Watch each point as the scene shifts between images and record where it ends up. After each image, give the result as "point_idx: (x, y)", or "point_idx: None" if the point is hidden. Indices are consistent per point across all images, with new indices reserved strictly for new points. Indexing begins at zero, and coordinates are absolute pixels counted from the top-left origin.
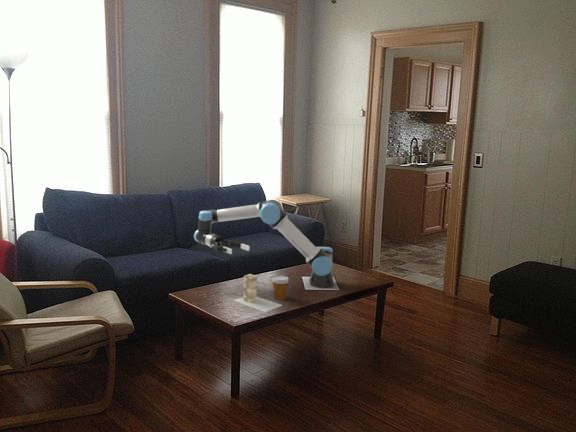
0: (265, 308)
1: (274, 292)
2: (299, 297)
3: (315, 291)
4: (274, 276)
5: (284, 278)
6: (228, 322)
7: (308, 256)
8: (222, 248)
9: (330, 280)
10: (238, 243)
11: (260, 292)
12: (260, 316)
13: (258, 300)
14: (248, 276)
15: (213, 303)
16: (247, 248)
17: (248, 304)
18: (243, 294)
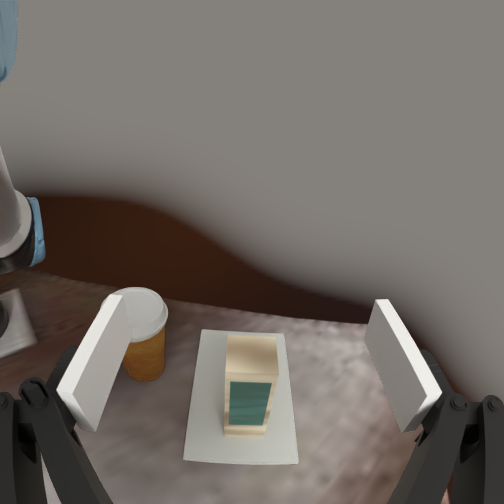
0: None
1: (160, 358)
2: None
3: (40, 319)
4: None
5: (125, 299)
6: None
7: (19, 221)
8: (448, 384)
9: None
10: (68, 433)
11: (127, 448)
12: (311, 327)
13: (220, 399)
14: (267, 353)
15: (378, 483)
16: (122, 329)
17: (280, 398)
18: (266, 426)
